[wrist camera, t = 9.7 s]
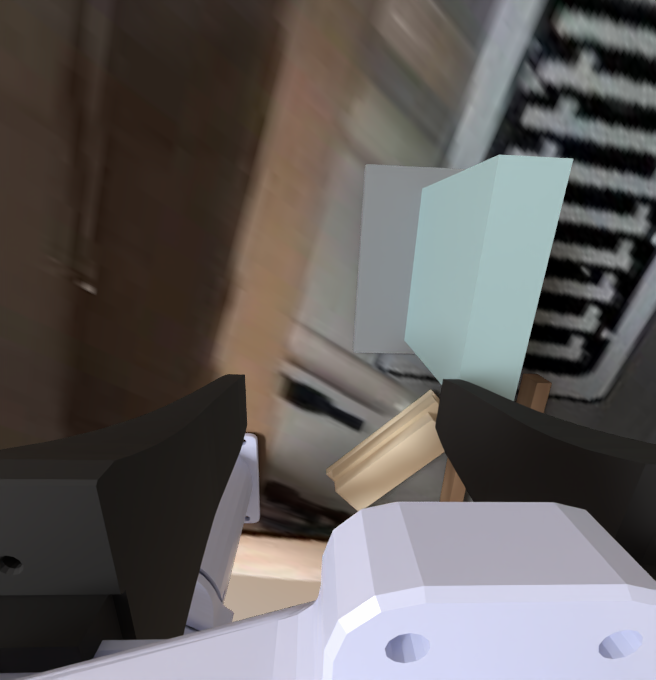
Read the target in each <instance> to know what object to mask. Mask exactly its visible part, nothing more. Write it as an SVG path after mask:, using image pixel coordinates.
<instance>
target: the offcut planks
mask: <svg viewBox="0 0 656 680" xmlns="http://www.w3.org/2000/svg"><path fill="white" fill-rule="evenodd" d="M439 400H440V399H439V398H438V397H437V396H436V395H435V393H434V392H433V391H432V390H429V391H428V392H427V393H426V394H424V395H423V396H422V397H420V398H419V399H418V400H416V401H415V402H414V403H412V404H411V405H410V406H409V407H407V408H406V409H405V410H403V411H402V412H401V413H399V414H398V415H397V416H395V417H394V418H393V419H392V420H390V421H389V422H388V423H386V424H385V425H384V426H382V427H381V428H380V429H378V430H377V431H376V432H375V433H373V434H372V435H371V436H369V437H368V438H367V439H365V440H364V441H363V442H361V443H360V444H359V445H358V446H356V447H355V448H354V449H352V450H351V451H350V452H348V453H347V454H346V455H344V456H343V457H342V458H341V459H339V460H338V461H337V462H335V463H334V464H333V465H331V466H330V467H329V468H327V469H326V475H328V476H329V477H330V478H331V479H332V480H333V481H334V482H335V491H336V492H337V493H338V494H339V495H340V496H341V497H342V498H344V499H345V500H346V501H347V502H348V503H349V504H350V505H351V506H353V507H354V508H355V509H356V510H357V511H360V510H361V509H363V508H366V507H368V506H369V505H370V504H372V503H373V502H375V501H376V500H377V499H379V498H380V497H382V496H383V495H384V494H386V493H387V492H389V491H390V490H391V489H393V488H394V487H396V486H397V485H398V484H400V483H401V482H403V481H404V480H405V479H407V478H408V477H410V476H411V475H412V474H414V473H415V472H417V471H418V470H419V469H421V468H422V467H424V466H425V465H426V464H428V463H429V462H431V461H432V460H433V459H435V458H436V457H438V456H439V455H440V454H442V453H443V452H445V451H444V449H443V447H442V444H441V442H440V439H439V437H438V434H437V431H436V429H435V424H436V418H437V412H438V406H439Z"/></svg>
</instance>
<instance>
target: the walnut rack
mask: <svg viewBox="0 0 656 680" xmlns="http://www.w3.org/2000/svg"><path fill="white" fill-rule="evenodd" d="M551 385H552V383H551V382H549V381H547V380H546V379H544V378H543V377H541V376H539V375H538V374H523V377H522V381H521V385H520V389H519V393H518V397H517V401H516V402H517V403H519V404H521V405H524V406H526V407H529V408H531V409H534V410H536V411H539V412H541V413H544V409H545V406H546V402H547V399H548V395H549V392H550V388H551ZM465 489H466V488H465V486H464V484H463V483H462V481H461V479H460V478H459V476H458V474H457V473H456V471H455V469H454V467H453V466H452V464H451V462H450V460H449V459H448V458H447V464H446V469H445V475H444V480H443V486H442V491H441V496H440V502H463V499H464V494H465Z"/></svg>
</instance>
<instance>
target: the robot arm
mask: <svg viewBox="0 0 656 680" xmlns="http://www.w3.org/2000/svg"><path fill="white" fill-rule="evenodd" d="M246 427H247V411H246V389H245V375H233V374H227V375H225V376H222V377H220V378H218V379H216V380H215V381H213V382H211V383H209V384H207V385H206V386H204V387H202V388H200V389H198V390H197V391H195V392H193V393H191V394H189V395H187V396H185V397H183V398H181V399H179V400H177V401H175V402H173V403H171V404H169V405H167V406H165V407H163V408H160V409H158V410H156V411H153V412H151V413H148V414H145V415H143V416H140V417H138V418H135V419H132V420H129V421H126V422H122V423H119V424H116V425H113V426H110V427H106V428H103V429H100V430H96V431H92V432H88V433H84V434H80V435H76V436H72V437H67V438H63V439H58V440H54V441H49V442H44V443H38V444H32V445H26V446H20V447H14V448H8V449H2V450H0V680H656V444H651V443H646V442H642V441H637V440H633V439H628V438H624V437H620V436H616V435H612V434H608V433H605V432H601V431H597V430H593V429H590V428H586V427H583V426H580V425H576V424H573V423H570V422H567V421H564V420H561V419H558V418H555V417H552V416H549V415H547V414H544V413H541V412H539V411H536V410H534V409H531V408H529V407H526V406H524V405H521V404H519V403H517V402H514V401H512V400H510V399H507V398H505V397H503V396H500V395H498V394H496V393H494V392H491V391H489V390H487V389H485V388H482V387H480V386H478V385H475V384H473V383H470V382H467V381H464V380H461V379H443V382H442V388H441V394H440V400H439V406H438V412H437V418H436V424H435V429H436V431H437V434H438V437H439V439H440V442H441V444H442V447H443V449H444V451H445V453H446V455H447V457H448V459H449V460H450V462H451V464H452V466H453V467H454V469H455V471H456V473H457V474H458V476H459V478H460V479H461V481H462V483H463V484H464V486H465V488H466V490H467V491H468V493H469V495H470V496H471V498H472V500H473V502H392V503H387V504H383V505H378V506H373V507H368V508H363V509H361V510H360V511H358V512H357V513H355V514H354V515H353V516H351V517H350V518H349V519H347V520H346V521H345V522H343V523H342V524H341V525H339V526H338V527H336V528H335V529H334V530H333V531H332V534H331V536H330V539H329V541H328V544H327V546H326V549H325V551H324V554H323V556H322V573H321V587H320V592H319V596H318V598H317V600H315V601H311V602H307V603H304V604H300V605H296V606H292V607H289V608H284V609H281V610H277V611H274V612H269V613H265V614H262V615H258V616H254V617H250V618H246V619H243V620H239V621H235V622H232V619H233V615H234V613H233V611H231V610H230V609H228V608H226V607H225V606H224V605H223V603H224V600H225V596H226V592H227V588H228V584H229V580H230V576H231V572H232V568H233V564H234V560H235V556H236V552H237V548H238V544H239V540H240V536H241V532H242V528H243V524H244V523H256V522H258V521H259V519H260V493H259V464H258V439H257V436H256V435H254V434H251V433H245V432H246ZM244 439H245V440H246V442H243V440H244ZM246 516H248V517H246Z"/></svg>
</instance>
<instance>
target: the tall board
mask: <svg viewBox="0 0 656 680" xmlns="http://www.w3.org/2000/svg"><path fill="white" fill-rule="evenodd" d="M572 162H573V159H569V158H551V157H532V156H513V155H498V156H495V157H493V158H491V159H489V160H486V161H484V162H482V163H479V164H477V165H475V166H473V167H470V168H468V169H466V170H464V171H461V172H459V173H457V174H454V175H452V176H450V177H448V178H445V179H443V180H441V181H438V182H436V183H434V184H432V185H429V186H427V187H425V188H422V195H421V204H420V212H419V220H418V229H417V237H416V246H415V254H414V263H413V271H412V280H411V288H410V297H409V305H408V314H407V322H406V330H405V339H404V341H405V342H406V343H407V344H408V345H409V347H410V348H411V349H412V350H413V351H414V353H415V354H416V355H417V356H418V357H419V358H420V360H421V361H422V362H423V363H424V364H425V366H426V367H427V368H428V369H429V370H430V372H431V373H432V374H433V375H434V376H435V378H436V379H437V380H438V381H439V382H440V384H441V385H442V382H443V379H461V380H464V381H467V382H470V383H473V384H475V385H478V386H480V387H482V388H485V389H487V390H489V391H491V392H494V393H496V394H498V395H500V396H503V397H505V398H507V399H510V400H512V401H514V399H515V395H516V391H517V386H518V382H519V378H520V374H521V370H522V366H523V362H524V358H525V354H526V350H527V346H528V342H529V337H530V333H531V329H532V325H533V321H534V317H535V313H536V309H537V305H538V301H539V297H540V293H541V288H542V284H543V280H544V276H545V272H546V268H547V264H548V260H549V256H550V252H551V248H552V243H553V239H554V235H555V231H556V227H557V223H558V219H559V215H560V211H561V207H562V203H563V199H564V194H565V190H566V186H567V182H568V178H569V174H570V170H571V166H572Z"/></svg>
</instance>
